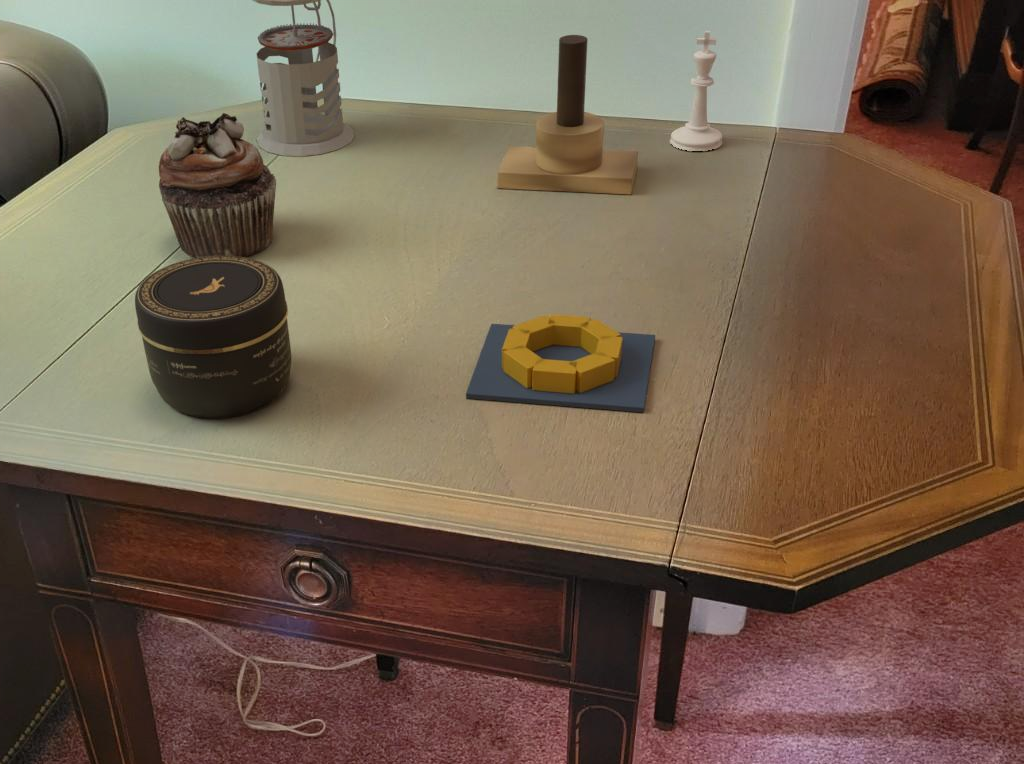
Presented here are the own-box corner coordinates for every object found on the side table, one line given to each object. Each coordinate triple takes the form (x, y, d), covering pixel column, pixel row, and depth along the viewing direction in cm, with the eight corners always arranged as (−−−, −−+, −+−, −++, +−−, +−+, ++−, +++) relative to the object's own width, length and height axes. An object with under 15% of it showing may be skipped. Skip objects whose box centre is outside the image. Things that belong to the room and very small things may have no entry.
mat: (655, 339, 88) (655, 334, 88) (643, 412, 81) (644, 407, 80) (491, 328, 90) (491, 323, 90) (465, 398, 83) (465, 393, 83)
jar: (313, 356, 88) (302, 256, 83) (271, 430, 81) (257, 326, 76) (182, 346, 90) (164, 248, 85) (131, 419, 82) (107, 316, 77)
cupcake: (174, 272, 99) (151, 150, 93) (166, 225, 107) (145, 108, 100) (290, 257, 101) (275, 135, 94) (275, 211, 108) (260, 95, 101)
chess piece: (671, 132, 119) (681, 22, 112) (722, 134, 118) (736, 23, 111) (668, 151, 115) (678, 39, 108) (721, 152, 114) (735, 40, 108)
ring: (625, 339, 87) (626, 319, 86) (612, 397, 81) (614, 376, 80) (515, 331, 89) (515, 311, 88) (495, 387, 83) (495, 366, 82)
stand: (637, 167, 112) (647, 29, 104) (631, 194, 108) (641, 52, 100) (508, 161, 115) (509, 26, 107) (497, 188, 110) (497, 48, 102)
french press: (238, 149, 120) (197, -144, 103) (293, 110, 128) (263, -168, 111) (328, 161, 116) (300, -141, 100) (378, 119, 124) (360, -166, 108)
